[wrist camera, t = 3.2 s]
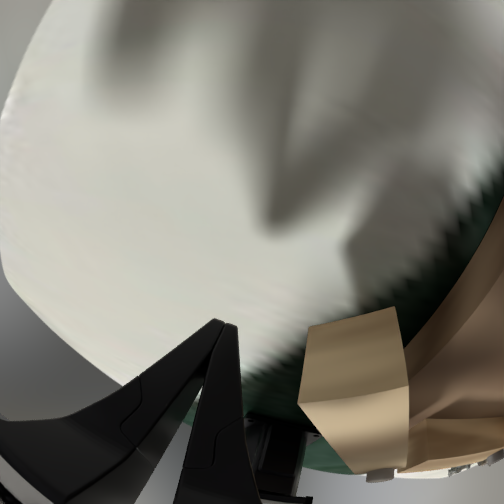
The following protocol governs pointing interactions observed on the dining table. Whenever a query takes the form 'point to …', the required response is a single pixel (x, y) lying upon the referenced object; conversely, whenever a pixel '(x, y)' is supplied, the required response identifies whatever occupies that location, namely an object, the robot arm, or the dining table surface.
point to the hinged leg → (359, 391)
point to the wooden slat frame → (461, 368)
